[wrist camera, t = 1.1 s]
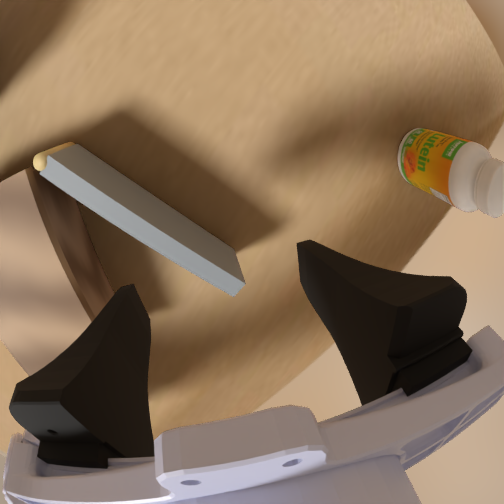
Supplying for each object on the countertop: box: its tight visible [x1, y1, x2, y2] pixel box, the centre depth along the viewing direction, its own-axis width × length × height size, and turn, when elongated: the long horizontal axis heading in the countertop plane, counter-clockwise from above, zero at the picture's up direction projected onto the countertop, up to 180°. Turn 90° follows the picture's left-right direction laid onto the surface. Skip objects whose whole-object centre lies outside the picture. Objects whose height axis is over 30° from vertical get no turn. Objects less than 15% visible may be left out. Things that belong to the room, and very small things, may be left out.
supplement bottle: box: [398, 128, 504, 218], centre depth 18 cm, size 5×5×10 cm
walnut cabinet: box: [0, 166, 114, 376], centre depth 17 cm, size 16×10×5 cm, turn 9°
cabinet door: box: [33, 142, 246, 297], centre depth 17 cm, size 15×1×5 cm, turn 49°
